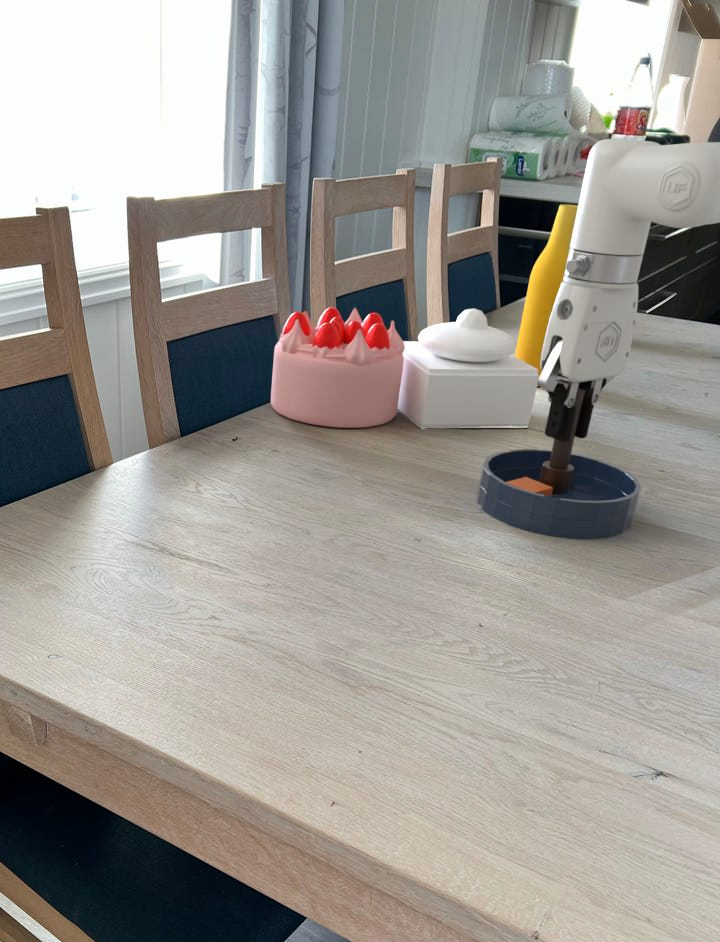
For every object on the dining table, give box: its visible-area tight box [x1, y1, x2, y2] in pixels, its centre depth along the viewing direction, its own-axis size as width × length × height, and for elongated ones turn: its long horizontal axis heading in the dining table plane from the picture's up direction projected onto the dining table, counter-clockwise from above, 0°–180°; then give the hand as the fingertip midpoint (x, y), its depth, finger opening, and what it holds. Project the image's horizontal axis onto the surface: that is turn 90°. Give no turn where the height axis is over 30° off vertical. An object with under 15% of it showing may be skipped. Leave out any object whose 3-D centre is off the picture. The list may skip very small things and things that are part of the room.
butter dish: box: [397, 308, 539, 428], centre depth 151 cm, size 18×18×16 cm
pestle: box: [539, 387, 585, 495], centre depth 113 cm, size 4×4×12 cm
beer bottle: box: [514, 204, 578, 376], centre depth 168 cm, size 9×9×29 cm
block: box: [506, 477, 553, 496], centre depth 114 cm, size 4×4×4 cm
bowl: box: [476, 448, 642, 540], centre depth 117 cm, size 18×18×5 cm
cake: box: [270, 306, 405, 429], centre depth 148 cm, size 20×20×14 cm
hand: (565, 435), depth 113 cm, fingers closed on pestle, 2 cm apart
